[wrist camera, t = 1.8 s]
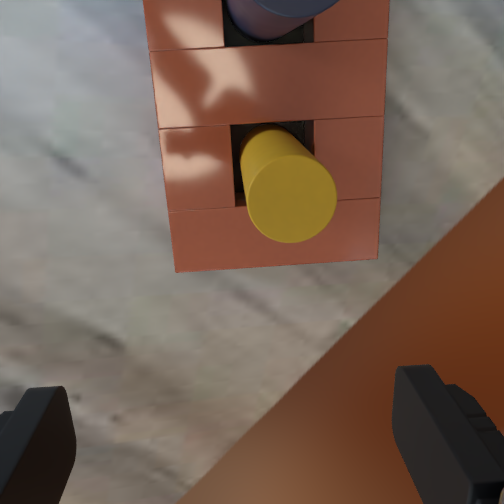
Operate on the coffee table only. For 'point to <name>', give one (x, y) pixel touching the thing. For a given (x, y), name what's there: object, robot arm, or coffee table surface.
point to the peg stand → (264, 111)
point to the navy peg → (272, 16)
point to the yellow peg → (285, 185)
